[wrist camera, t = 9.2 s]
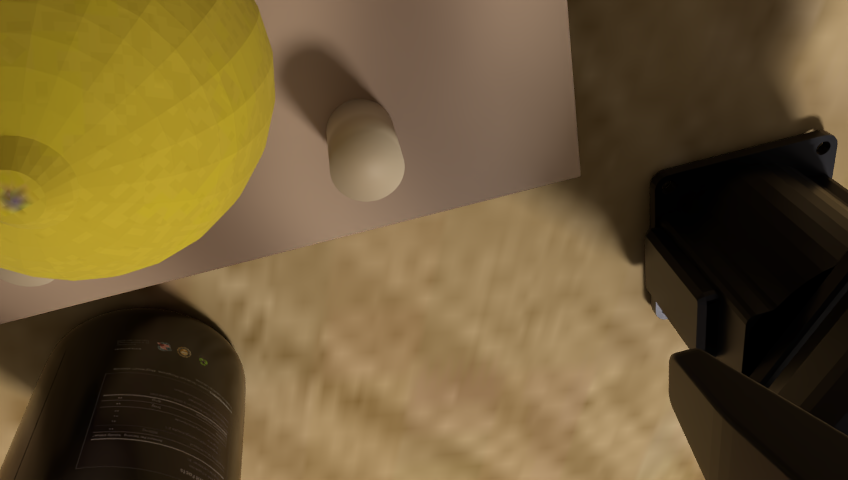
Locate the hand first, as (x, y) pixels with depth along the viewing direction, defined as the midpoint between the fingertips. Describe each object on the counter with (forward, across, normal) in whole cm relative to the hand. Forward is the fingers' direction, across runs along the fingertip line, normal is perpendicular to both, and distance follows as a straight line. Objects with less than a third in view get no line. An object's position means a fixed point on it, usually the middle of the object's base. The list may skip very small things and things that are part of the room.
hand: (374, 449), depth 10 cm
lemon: (+9, +3, -5) cm, 10 cm away
